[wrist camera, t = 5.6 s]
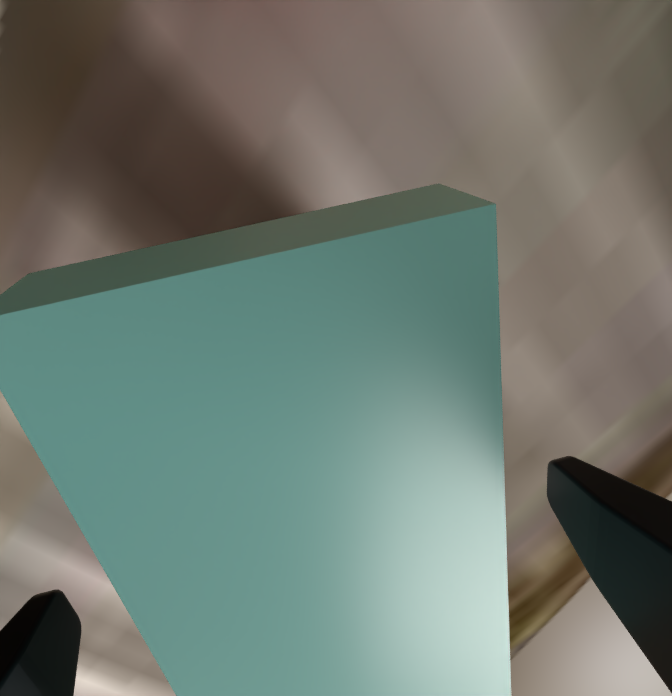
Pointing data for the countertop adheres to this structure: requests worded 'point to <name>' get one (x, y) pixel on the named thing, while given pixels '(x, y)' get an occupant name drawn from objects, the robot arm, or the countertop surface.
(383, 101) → the countertop surface
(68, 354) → the lid
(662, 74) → the countertop surface
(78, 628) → the robot arm
